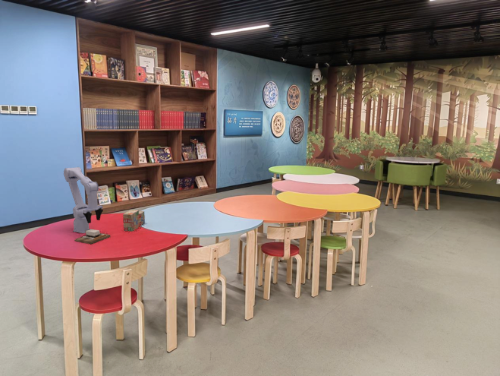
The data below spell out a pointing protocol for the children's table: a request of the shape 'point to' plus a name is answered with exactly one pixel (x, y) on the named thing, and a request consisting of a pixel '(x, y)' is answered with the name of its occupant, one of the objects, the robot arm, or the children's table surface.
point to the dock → (92, 240)
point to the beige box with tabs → (92, 233)
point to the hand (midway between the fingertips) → (93, 221)
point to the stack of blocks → (133, 219)
